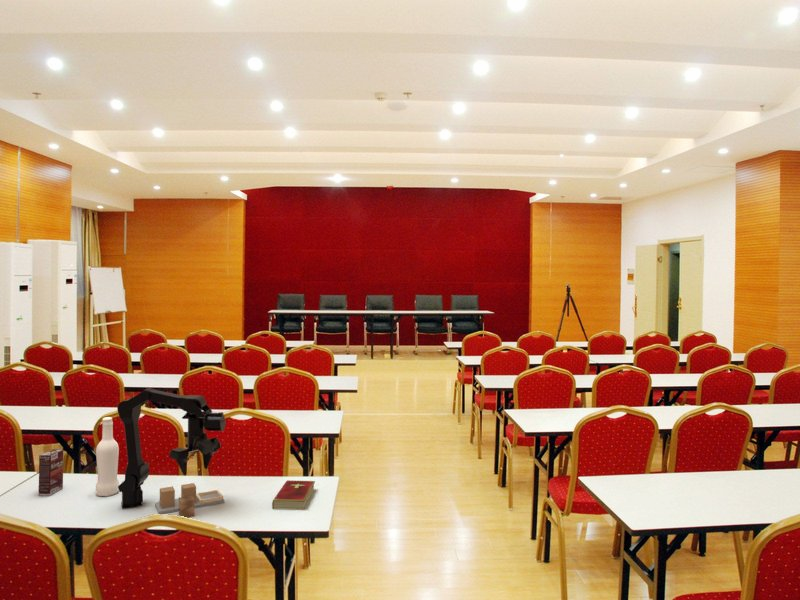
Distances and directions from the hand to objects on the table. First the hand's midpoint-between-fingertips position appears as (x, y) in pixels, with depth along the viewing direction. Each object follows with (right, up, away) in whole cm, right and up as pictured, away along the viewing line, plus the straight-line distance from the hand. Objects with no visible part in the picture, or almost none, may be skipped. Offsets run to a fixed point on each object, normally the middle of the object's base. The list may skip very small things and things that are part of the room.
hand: (195, 472), depth 207 cm
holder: (-3, -13, +2) cm, 13 cm away
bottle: (-39, -12, +12) cm, 43 cm away
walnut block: (0, -13, -8) cm, 15 cm away
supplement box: (-62, -12, +12) cm, 64 cm away
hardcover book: (+35, -14, +9) cm, 39 cm away
